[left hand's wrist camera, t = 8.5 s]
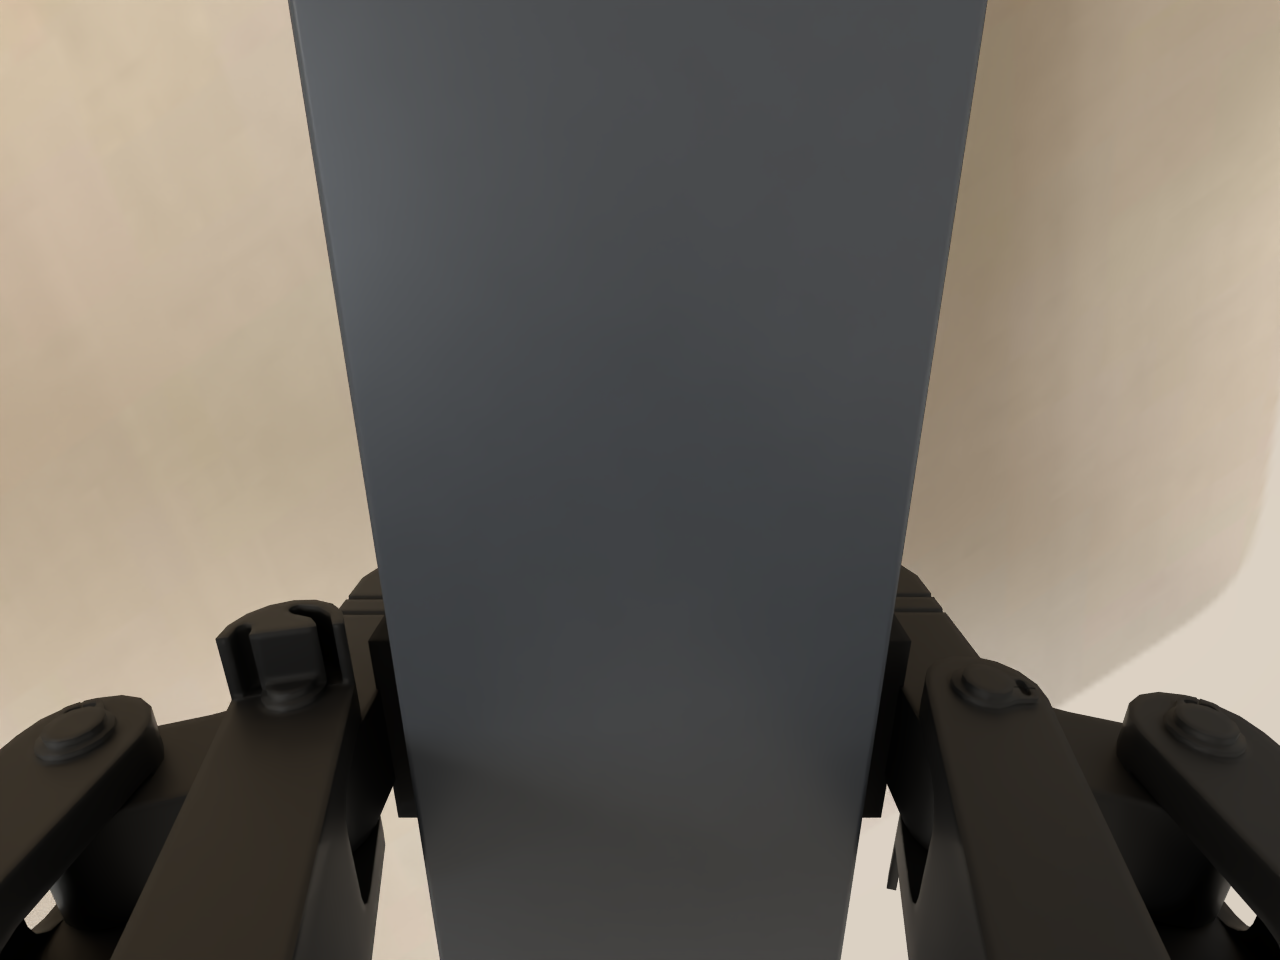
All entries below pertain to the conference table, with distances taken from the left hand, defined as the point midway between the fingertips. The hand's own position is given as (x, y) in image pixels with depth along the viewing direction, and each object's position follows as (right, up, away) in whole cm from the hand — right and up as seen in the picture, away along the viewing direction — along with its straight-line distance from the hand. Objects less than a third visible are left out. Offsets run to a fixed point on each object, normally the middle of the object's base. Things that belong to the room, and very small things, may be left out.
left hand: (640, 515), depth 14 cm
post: (0, +24, -9) cm, 26 cm away
